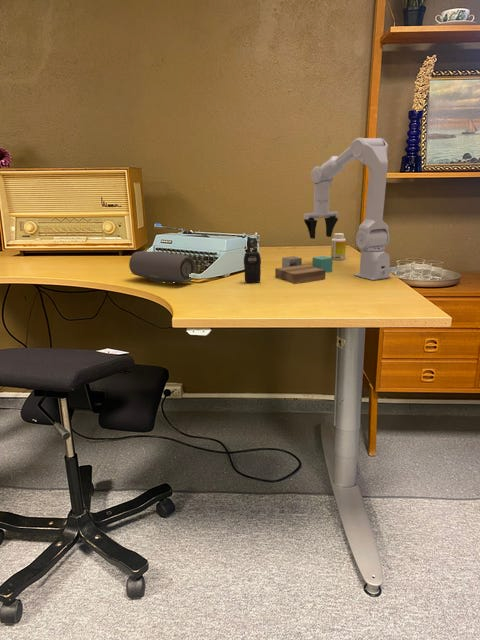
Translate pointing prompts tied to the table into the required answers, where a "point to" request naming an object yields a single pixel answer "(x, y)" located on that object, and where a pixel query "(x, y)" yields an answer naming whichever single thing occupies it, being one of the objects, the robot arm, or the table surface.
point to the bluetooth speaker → (162, 266)
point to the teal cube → (323, 263)
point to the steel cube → (291, 261)
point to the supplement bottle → (338, 247)
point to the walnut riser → (300, 273)
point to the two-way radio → (252, 264)
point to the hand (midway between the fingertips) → (320, 237)
